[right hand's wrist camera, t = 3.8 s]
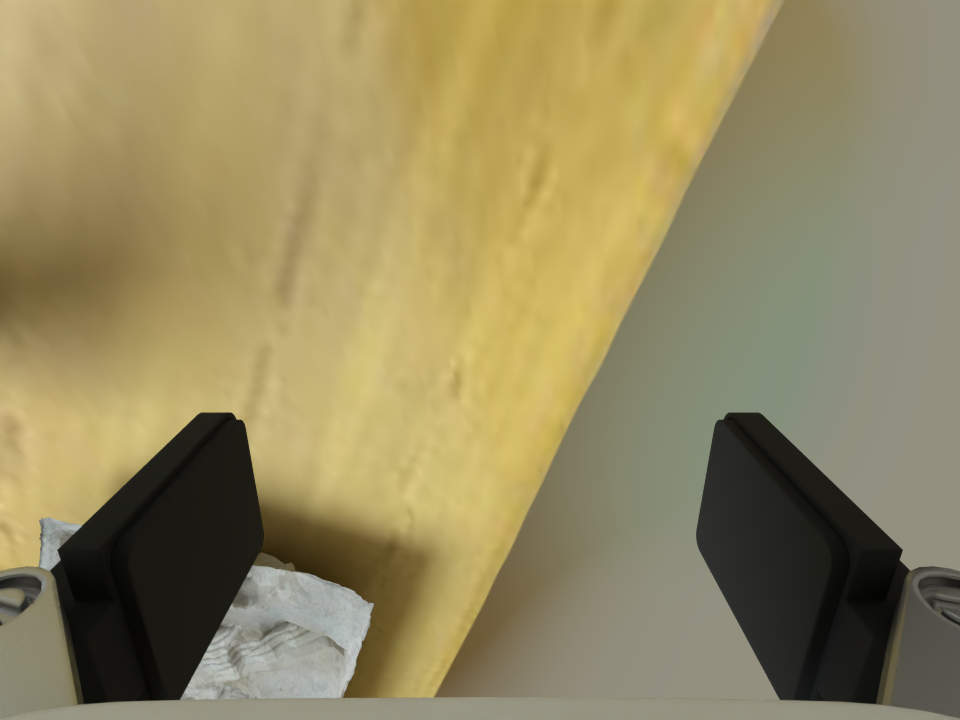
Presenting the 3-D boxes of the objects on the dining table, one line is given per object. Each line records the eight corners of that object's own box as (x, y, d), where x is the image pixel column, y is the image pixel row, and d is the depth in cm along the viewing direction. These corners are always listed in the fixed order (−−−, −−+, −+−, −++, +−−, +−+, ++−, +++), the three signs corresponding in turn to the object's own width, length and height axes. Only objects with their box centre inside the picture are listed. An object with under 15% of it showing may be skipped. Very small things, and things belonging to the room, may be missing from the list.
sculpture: (50, 738, 63) (307, 802, 65) (6, 795, 57) (288, 863, 60) (76, 465, 51) (391, 557, 53) (23, 503, 45) (378, 604, 47)
